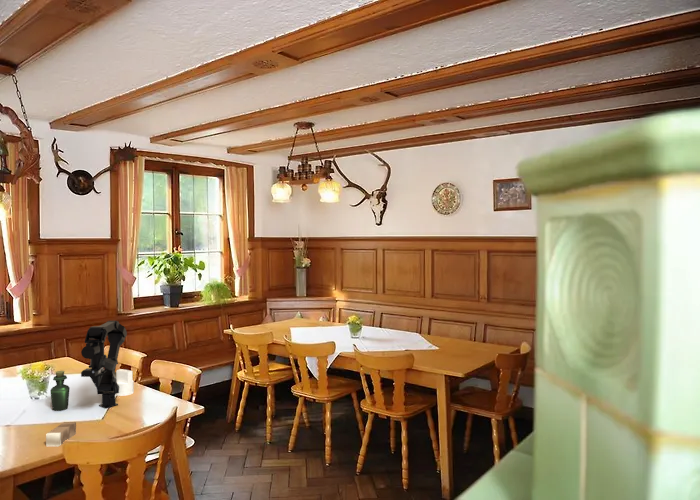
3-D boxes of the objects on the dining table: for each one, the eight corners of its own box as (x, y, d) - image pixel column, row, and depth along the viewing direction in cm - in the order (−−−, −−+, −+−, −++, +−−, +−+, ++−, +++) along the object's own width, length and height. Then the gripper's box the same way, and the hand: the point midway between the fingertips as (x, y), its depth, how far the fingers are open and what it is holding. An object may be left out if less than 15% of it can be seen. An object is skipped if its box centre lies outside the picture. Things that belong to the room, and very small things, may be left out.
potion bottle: (53, 407, 248) (52, 370, 247) (71, 405, 250) (71, 369, 250) (48, 412, 240) (47, 374, 239) (67, 411, 242) (67, 373, 242)
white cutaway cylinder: (137, 392, 273) (137, 369, 272) (123, 396, 264) (123, 373, 264) (125, 389, 276) (125, 367, 276) (111, 394, 268) (111, 371, 268)
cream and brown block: (64, 422, 215) (46, 433, 202) (76, 422, 215) (58, 434, 202) (64, 433, 215) (46, 446, 202) (76, 433, 215) (58, 446, 202)
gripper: (105, 358, 228) (105, 393, 228) (123, 349, 246) (123, 381, 247) (80, 358, 227) (80, 393, 228) (100, 349, 246) (100, 381, 247)
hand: (97, 386), depth 237 cm, fingers closed
